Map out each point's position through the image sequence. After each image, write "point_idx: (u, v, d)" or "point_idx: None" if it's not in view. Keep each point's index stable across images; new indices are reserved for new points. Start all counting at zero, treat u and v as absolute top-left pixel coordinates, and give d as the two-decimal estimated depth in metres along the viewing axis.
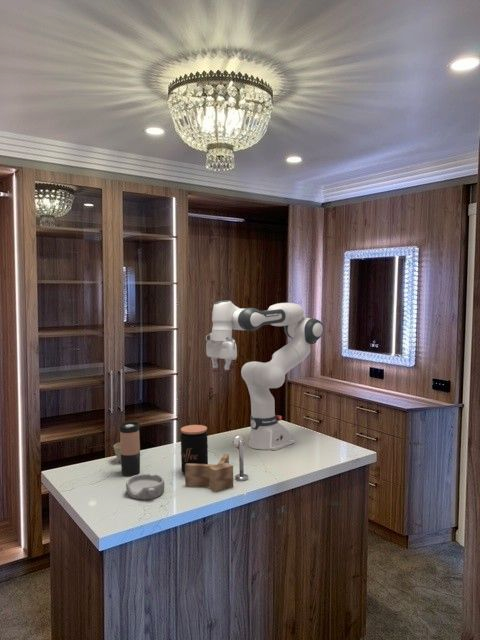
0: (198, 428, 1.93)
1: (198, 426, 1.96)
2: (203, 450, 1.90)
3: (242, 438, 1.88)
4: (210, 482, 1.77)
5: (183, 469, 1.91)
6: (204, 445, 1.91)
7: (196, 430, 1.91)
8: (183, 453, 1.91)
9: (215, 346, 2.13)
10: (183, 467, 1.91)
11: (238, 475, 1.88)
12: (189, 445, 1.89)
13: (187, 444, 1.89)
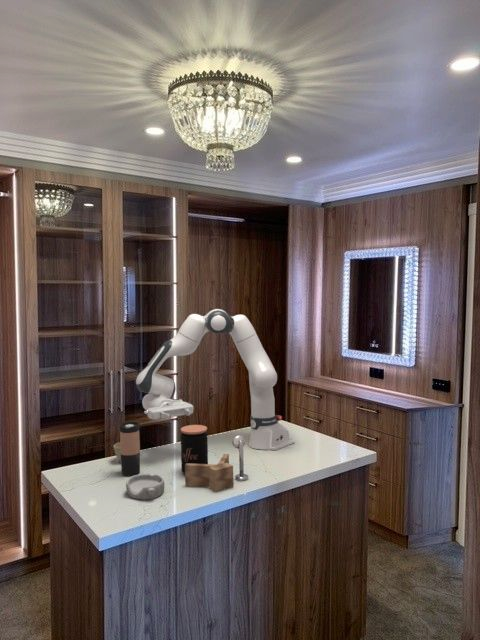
0: (198, 428, 1.93)
1: (198, 426, 1.96)
2: (203, 450, 1.90)
3: (242, 438, 1.88)
4: (210, 482, 1.77)
5: (183, 469, 1.91)
6: (204, 445, 1.91)
7: (196, 430, 1.91)
8: (183, 453, 1.91)
9: None
10: (183, 467, 1.91)
11: (238, 475, 1.88)
12: (189, 445, 1.89)
13: (187, 444, 1.89)
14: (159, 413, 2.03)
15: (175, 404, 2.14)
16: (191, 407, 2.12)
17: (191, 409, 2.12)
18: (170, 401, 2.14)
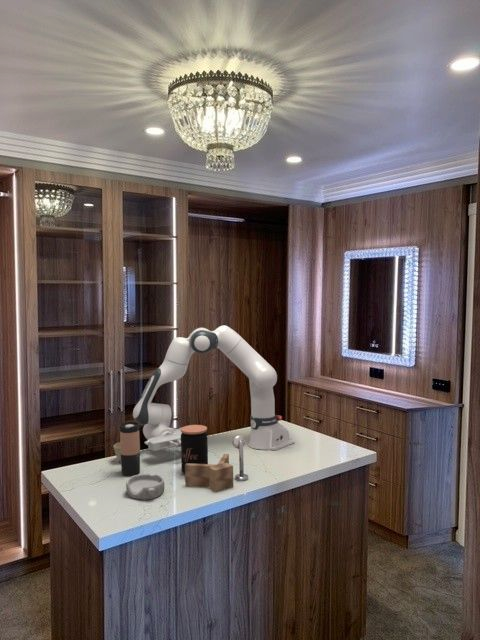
0: (198, 428, 1.93)
1: (198, 426, 1.96)
2: (203, 450, 1.90)
3: (242, 438, 1.88)
4: (210, 482, 1.77)
5: (183, 469, 1.91)
6: (204, 445, 1.91)
7: (196, 430, 1.91)
8: (183, 453, 1.91)
9: None
10: (183, 467, 1.91)
11: (238, 475, 1.88)
12: (189, 445, 1.89)
13: (187, 444, 1.89)
14: (159, 444, 2.04)
15: (175, 433, 2.15)
16: None
17: None
18: (170, 430, 2.15)
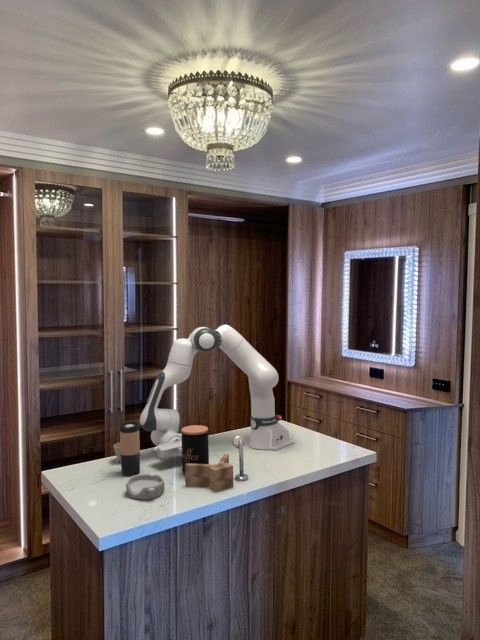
0: (199, 429, 1.92)
1: (199, 426, 1.95)
2: (204, 450, 1.90)
3: (242, 438, 1.88)
4: (210, 482, 1.77)
5: (184, 470, 1.91)
6: (205, 446, 1.90)
7: (196, 430, 1.90)
8: (184, 454, 1.90)
9: None
10: (184, 468, 1.90)
11: (238, 475, 1.88)
12: (190, 445, 1.88)
13: (188, 445, 1.88)
14: (168, 451, 1.98)
15: None
16: None
17: None
18: (179, 436, 2.09)
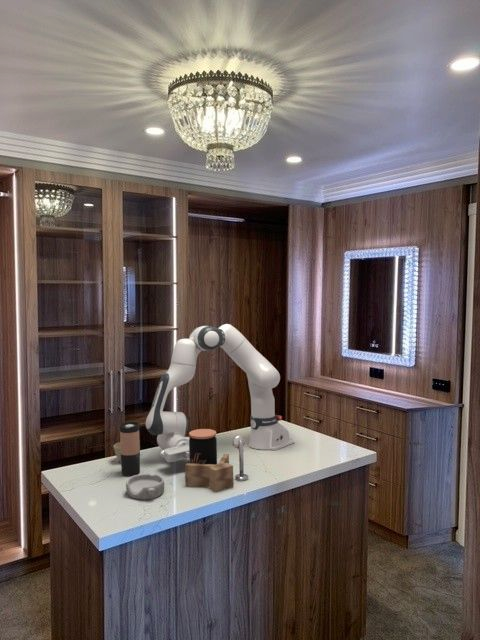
0: (207, 433, 1.86)
1: (207, 430, 1.90)
2: (212, 455, 1.84)
3: (242, 438, 1.88)
4: (210, 482, 1.77)
5: None
6: (213, 450, 1.84)
7: (204, 434, 1.85)
8: (191, 458, 1.85)
9: None
10: None
11: (238, 475, 1.88)
12: (197, 450, 1.83)
13: (195, 449, 1.83)
14: (176, 455, 1.92)
15: None
16: None
17: None
18: (187, 440, 2.03)
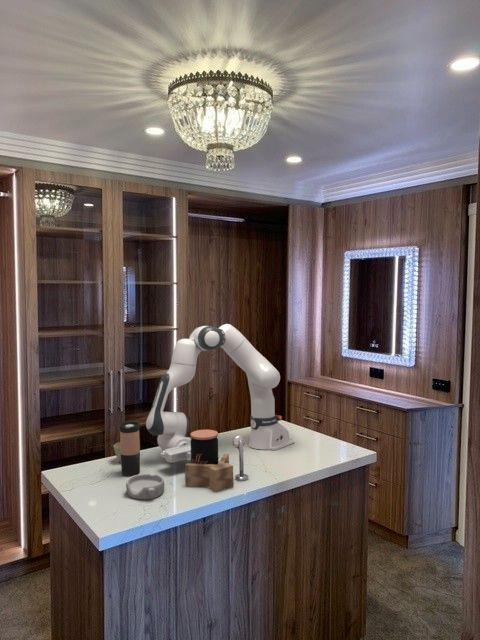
0: (209, 434, 1.85)
1: (209, 431, 1.89)
2: (213, 456, 1.83)
3: (242, 438, 1.88)
4: (210, 482, 1.77)
5: None
6: (214, 451, 1.83)
7: (206, 435, 1.84)
8: (193, 459, 1.84)
9: None
10: None
11: (238, 475, 1.88)
12: (199, 451, 1.82)
13: (196, 450, 1.82)
14: (176, 455, 1.92)
15: None
16: None
17: None
18: (187, 440, 2.03)
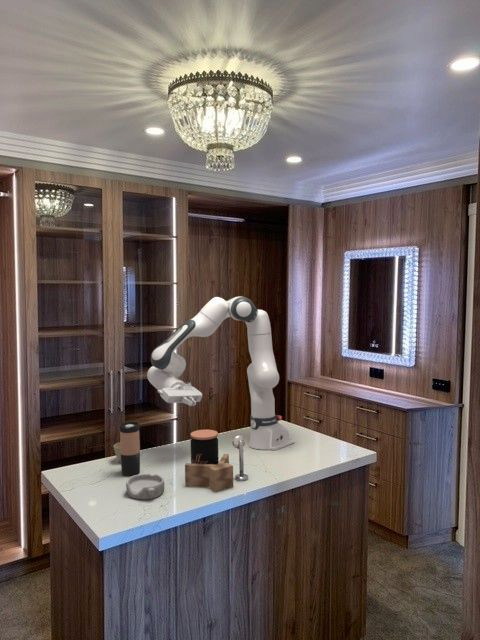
0: (209, 434, 1.85)
1: (209, 431, 1.89)
2: (213, 456, 1.83)
3: (242, 438, 1.88)
4: (210, 482, 1.77)
5: None
6: (214, 451, 1.83)
7: (206, 435, 1.84)
8: (193, 459, 1.84)
9: None
10: None
11: (238, 475, 1.88)
12: (199, 451, 1.82)
13: (196, 450, 1.82)
14: (175, 398, 2.01)
15: (185, 388, 2.13)
16: (201, 396, 2.13)
17: (200, 397, 2.13)
18: (181, 384, 2.12)
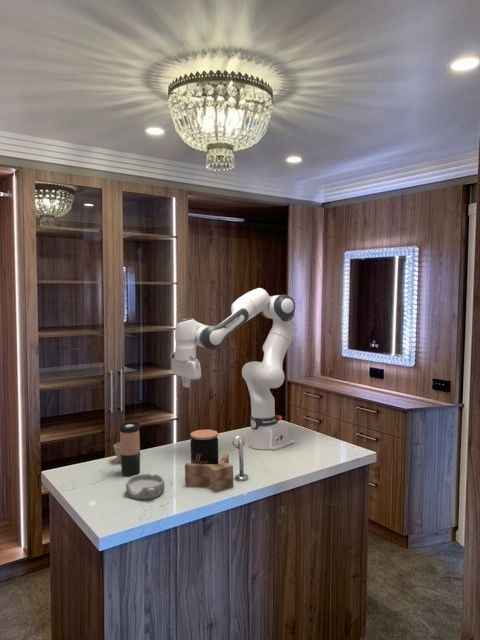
0: (209, 434, 1.85)
1: (209, 431, 1.89)
2: (213, 456, 1.83)
3: (242, 438, 1.88)
4: (210, 482, 1.77)
5: None
6: (214, 451, 1.83)
7: (206, 435, 1.84)
8: (193, 459, 1.84)
9: (180, 364, 2.12)
10: None
11: (238, 475, 1.88)
12: (199, 451, 1.82)
13: (196, 450, 1.82)
14: None
15: None
16: None
17: None
18: None
